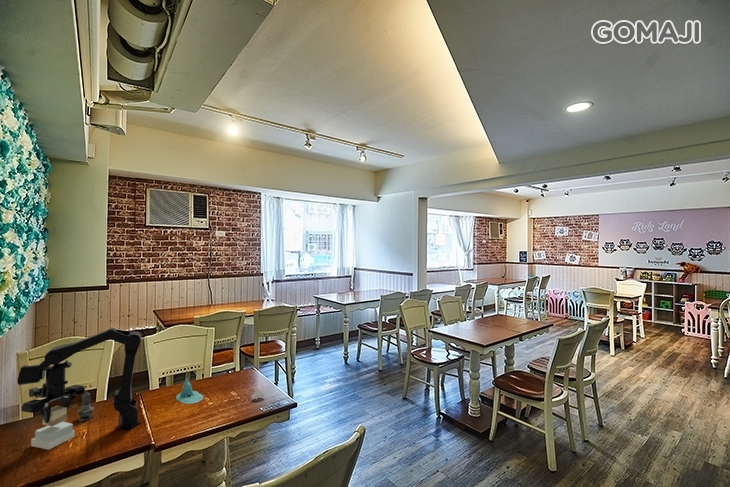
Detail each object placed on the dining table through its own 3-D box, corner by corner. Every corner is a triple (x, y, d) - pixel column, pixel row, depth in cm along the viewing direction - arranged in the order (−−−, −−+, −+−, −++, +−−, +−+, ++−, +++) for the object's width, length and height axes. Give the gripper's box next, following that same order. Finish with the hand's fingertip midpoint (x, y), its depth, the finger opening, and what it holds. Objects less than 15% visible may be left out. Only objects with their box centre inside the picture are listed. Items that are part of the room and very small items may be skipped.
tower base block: (74, 438, 136) (74, 430, 136) (48, 451, 127) (48, 443, 127) (57, 434, 138) (57, 427, 138) (31, 447, 130) (31, 439, 130)
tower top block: (72, 431, 135) (73, 424, 135) (49, 442, 128) (49, 434, 128) (59, 428, 138) (59, 420, 138) (35, 438, 130) (35, 430, 130)
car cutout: (264, 396, 176) (264, 387, 176) (265, 401, 170) (265, 392, 170) (233, 400, 171) (233, 391, 171) (233, 406, 165) (233, 397, 165)
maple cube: (66, 419, 135) (66, 407, 135) (52, 426, 130) (52, 413, 130) (57, 418, 136) (57, 405, 136) (42, 424, 131) (42, 411, 131)
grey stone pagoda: (84, 422, 147) (85, 394, 148) (73, 420, 149) (74, 393, 149) (97, 415, 153) (98, 388, 153) (86, 414, 154) (87, 387, 155)
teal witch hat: (184, 408, 162) (184, 390, 162) (170, 395, 175) (170, 378, 176) (210, 400, 171) (210, 383, 171) (194, 388, 184) (194, 372, 184)
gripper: (66, 369, 144) (65, 406, 144) (11, 386, 126) (10, 428, 126) (86, 372, 141) (85, 409, 141) (32, 390, 123) (31, 433, 123)
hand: (54, 419), depth 133 cm, fingers closed on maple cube, 5 cm apart
